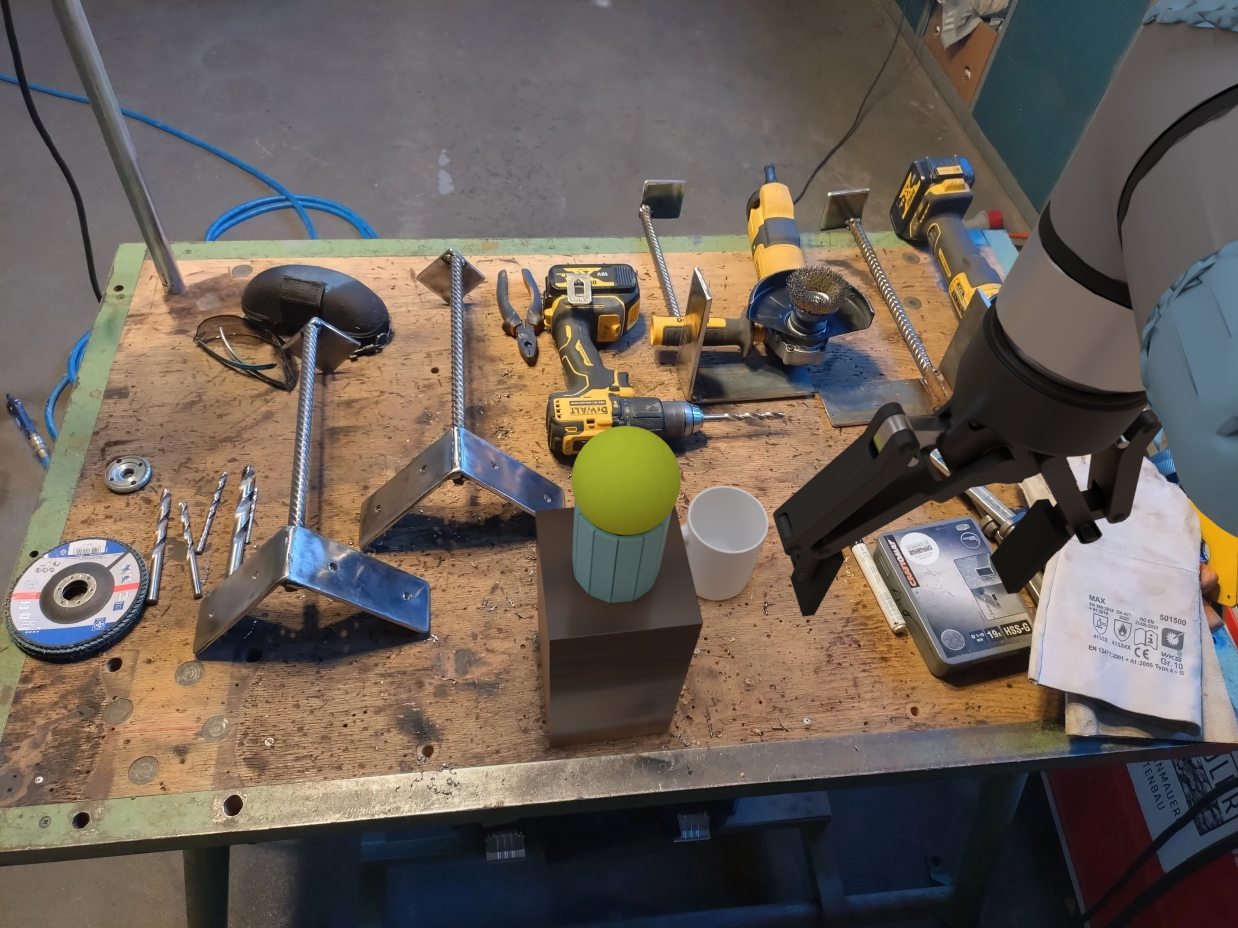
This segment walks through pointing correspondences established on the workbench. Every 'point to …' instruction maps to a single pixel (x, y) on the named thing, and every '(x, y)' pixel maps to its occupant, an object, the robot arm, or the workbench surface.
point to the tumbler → (616, 559)
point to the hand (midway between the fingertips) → (904, 585)
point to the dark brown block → (611, 642)
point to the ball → (626, 480)
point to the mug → (723, 540)
